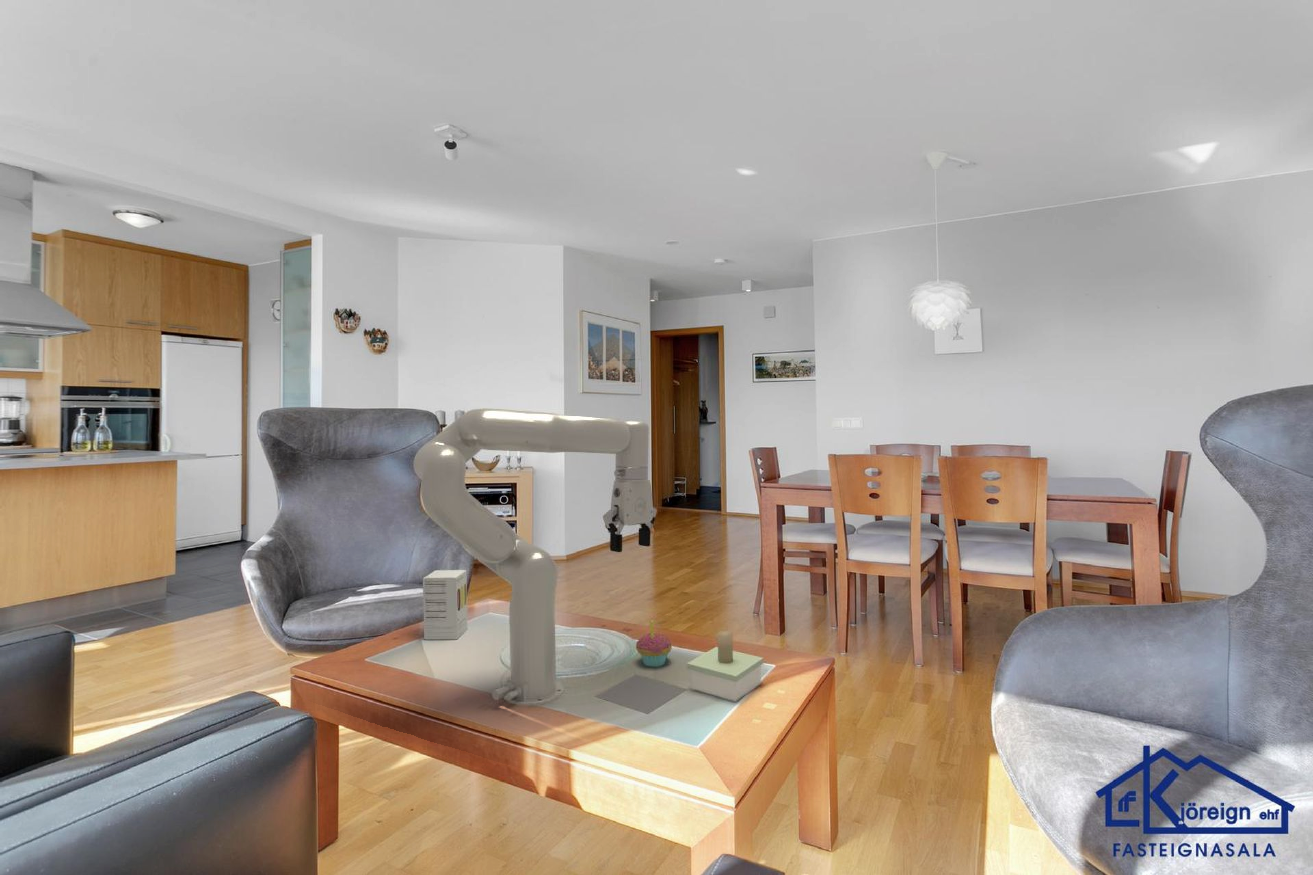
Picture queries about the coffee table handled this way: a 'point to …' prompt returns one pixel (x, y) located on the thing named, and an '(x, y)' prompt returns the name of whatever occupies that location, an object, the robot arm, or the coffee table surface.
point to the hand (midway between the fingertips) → (630, 548)
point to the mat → (641, 693)
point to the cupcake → (653, 648)
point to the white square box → (725, 685)
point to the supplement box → (445, 604)
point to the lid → (725, 660)
